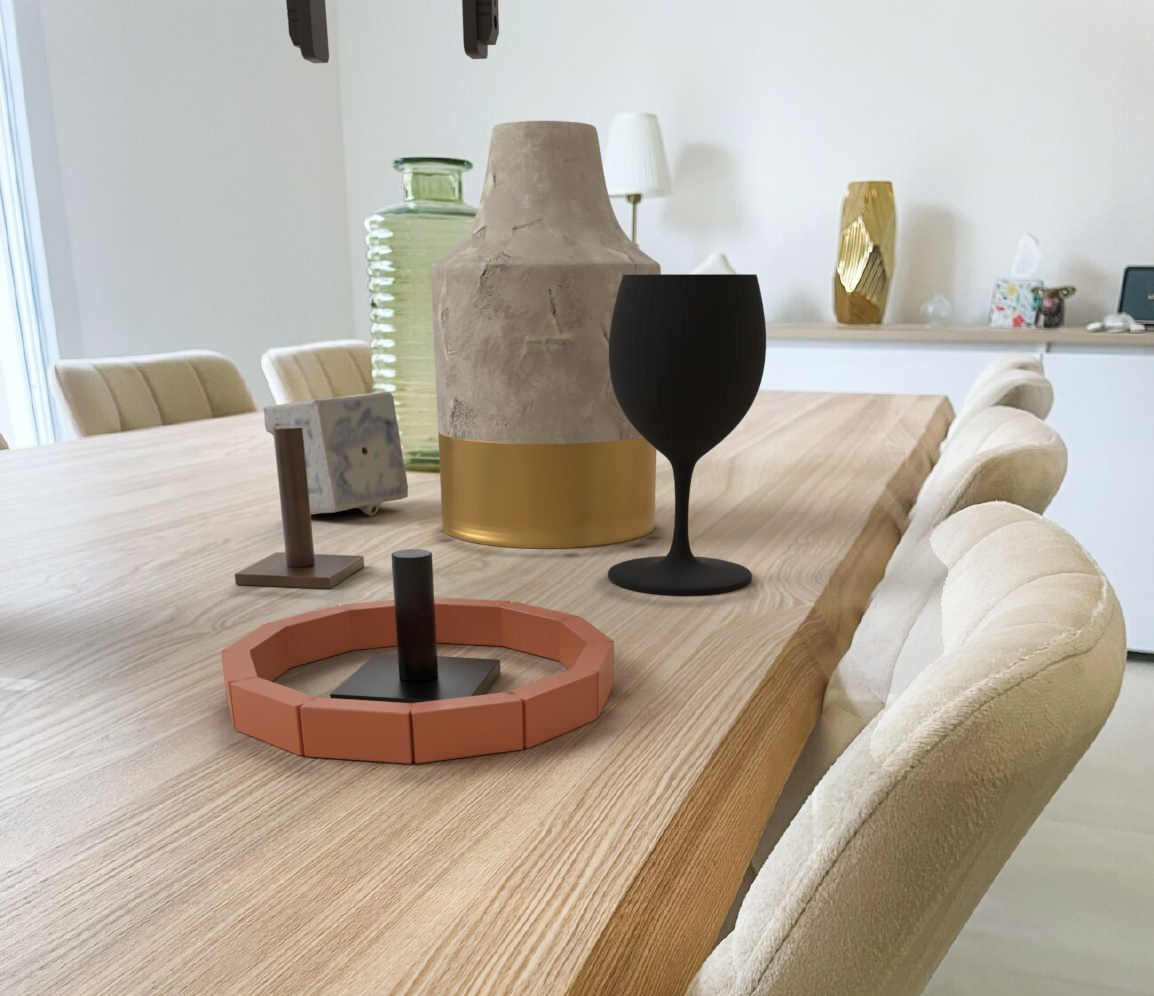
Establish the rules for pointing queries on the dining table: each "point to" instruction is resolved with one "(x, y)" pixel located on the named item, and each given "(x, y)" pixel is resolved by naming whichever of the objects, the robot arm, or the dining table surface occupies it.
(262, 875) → the dining table surface
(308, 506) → the walnut post
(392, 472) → the incense holder
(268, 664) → the ring
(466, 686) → the metal post
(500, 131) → the vase
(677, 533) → the wine glass
